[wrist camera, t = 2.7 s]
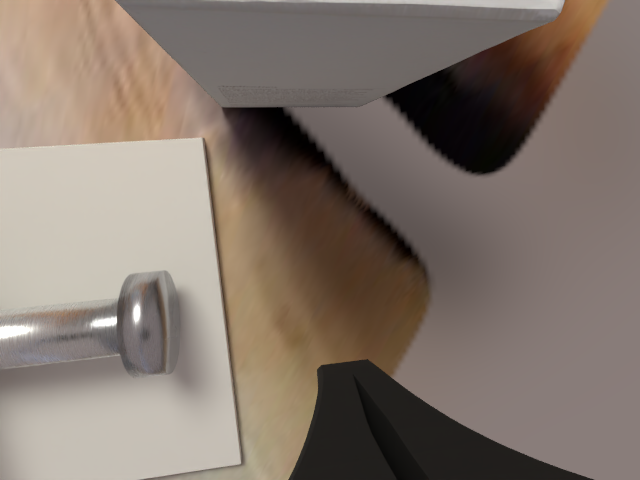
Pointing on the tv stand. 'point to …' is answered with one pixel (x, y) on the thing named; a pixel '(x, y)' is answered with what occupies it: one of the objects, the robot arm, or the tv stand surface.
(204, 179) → the board
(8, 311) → the pin
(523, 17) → the small box
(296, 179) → the tv stand surface
